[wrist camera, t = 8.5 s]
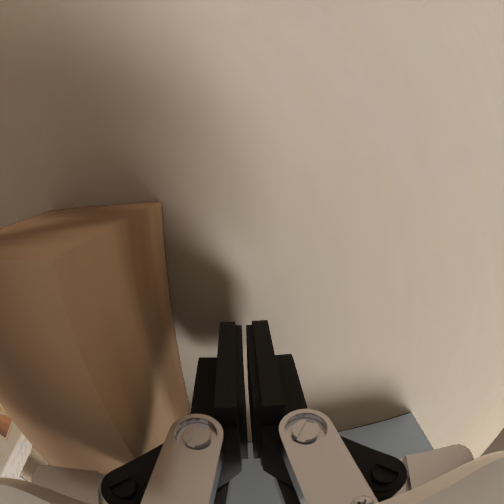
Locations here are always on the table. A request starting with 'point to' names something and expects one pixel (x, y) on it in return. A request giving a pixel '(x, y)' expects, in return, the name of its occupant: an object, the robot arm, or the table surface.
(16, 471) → the coffeecake box
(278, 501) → the shelf
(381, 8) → the table surface
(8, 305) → the tan rectangular block
